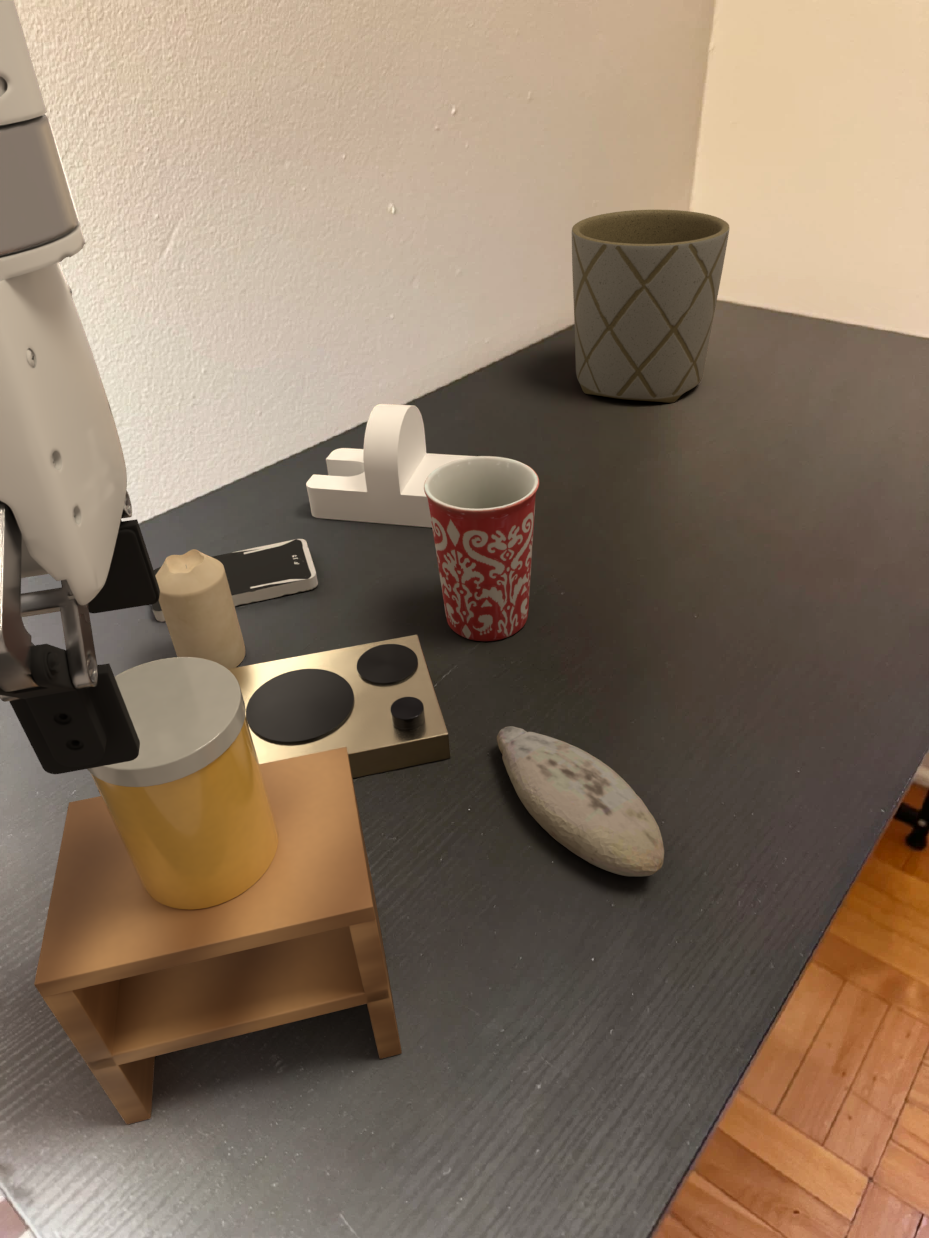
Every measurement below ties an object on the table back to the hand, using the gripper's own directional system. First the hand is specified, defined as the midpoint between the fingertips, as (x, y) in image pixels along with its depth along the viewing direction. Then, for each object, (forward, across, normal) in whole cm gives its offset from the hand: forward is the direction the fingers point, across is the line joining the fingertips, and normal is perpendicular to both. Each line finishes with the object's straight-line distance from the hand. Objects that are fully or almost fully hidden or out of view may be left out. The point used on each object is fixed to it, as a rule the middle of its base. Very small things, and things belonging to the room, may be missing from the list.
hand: (111, 674), depth 34 cm
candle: (+24, -31, -2) cm, 39 cm away
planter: (+24, -77, +54) cm, 97 cm away
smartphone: (+24, -42, 0) cm, 48 cm away
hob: (+23, -20, +7) cm, 32 cm away
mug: (+24, -31, +23) cm, 45 cm away
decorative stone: (+24, -7, +22) cm, 33 cm away
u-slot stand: (+24, -53, +18) cm, 61 cm away
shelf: (+23, +1, +2) cm, 23 cm away
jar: (+10, +1, +2) cm, 11 cm away
